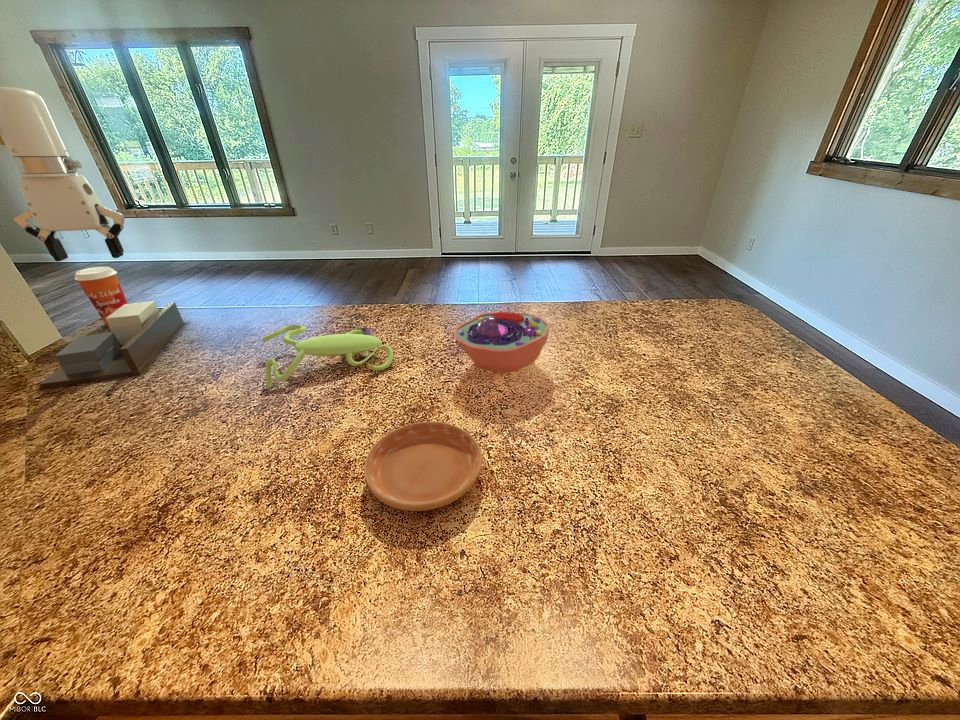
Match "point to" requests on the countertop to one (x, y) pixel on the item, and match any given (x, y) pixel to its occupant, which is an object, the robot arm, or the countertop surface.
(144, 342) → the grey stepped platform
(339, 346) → the figurine
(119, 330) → the white stack
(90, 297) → the paper cup
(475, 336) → the cell model
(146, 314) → the cream flat block
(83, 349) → the grey stack
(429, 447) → the saucer
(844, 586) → the countertop surface
